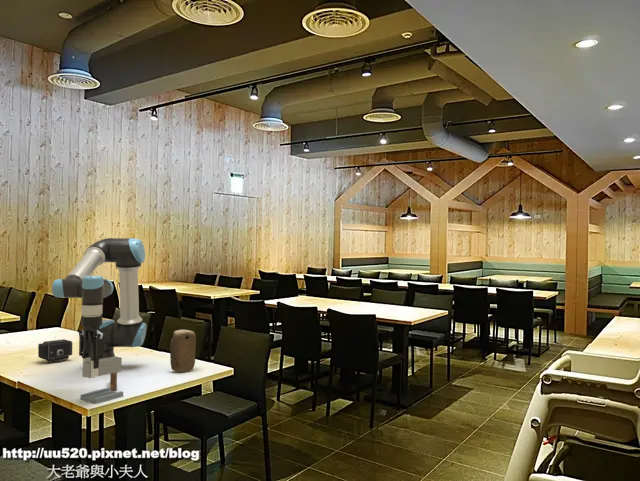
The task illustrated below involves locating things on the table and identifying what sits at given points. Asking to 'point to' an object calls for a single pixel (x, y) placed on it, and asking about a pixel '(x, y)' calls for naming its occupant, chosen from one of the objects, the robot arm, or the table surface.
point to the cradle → (100, 395)
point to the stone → (183, 350)
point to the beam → (113, 381)
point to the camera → (55, 350)
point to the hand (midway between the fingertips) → (90, 375)
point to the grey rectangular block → (103, 366)
